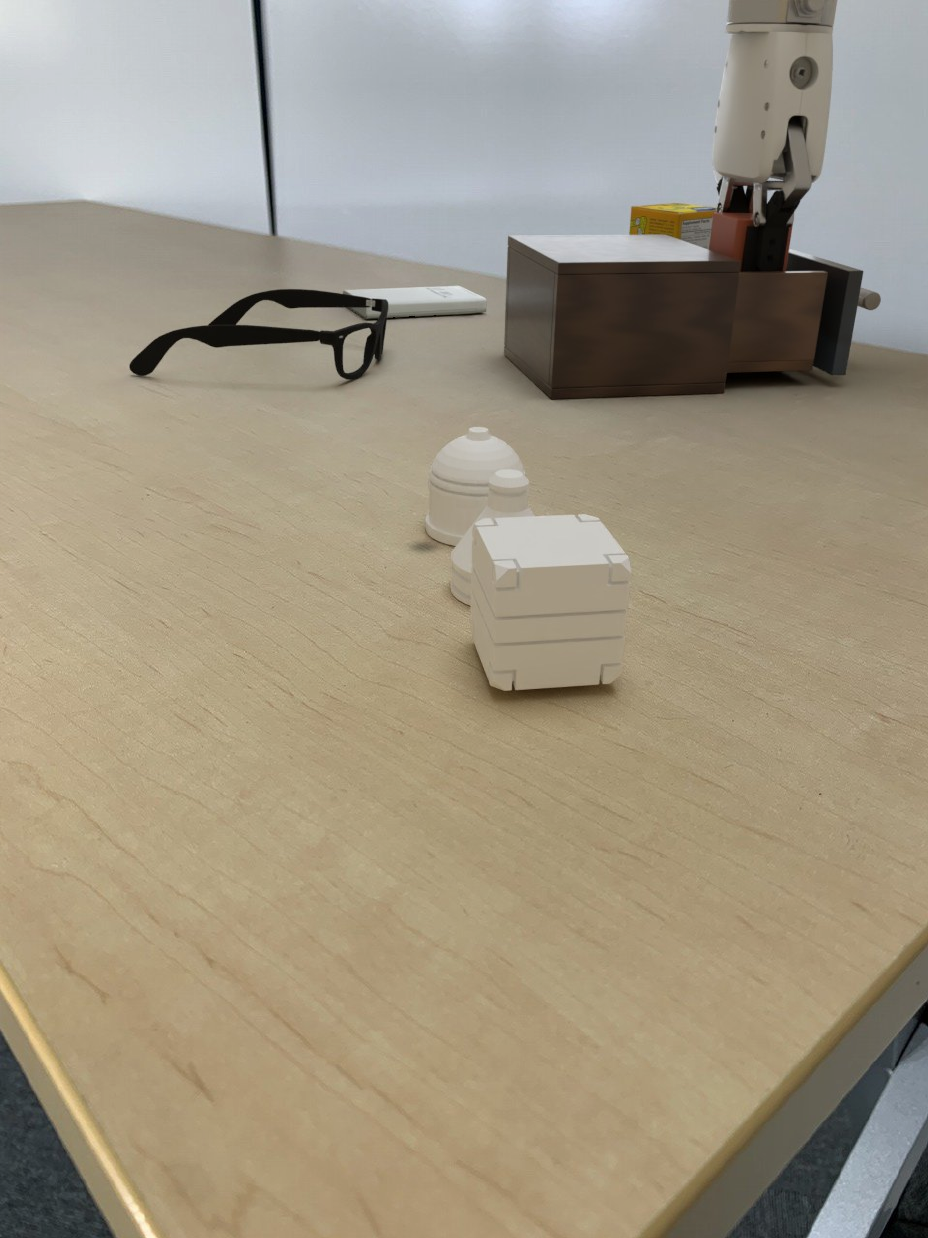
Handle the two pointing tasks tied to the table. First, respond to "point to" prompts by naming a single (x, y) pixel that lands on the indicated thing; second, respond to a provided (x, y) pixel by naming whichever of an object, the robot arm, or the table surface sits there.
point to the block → (734, 235)
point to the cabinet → (619, 314)
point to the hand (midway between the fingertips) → (745, 272)
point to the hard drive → (422, 301)
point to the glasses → (276, 329)
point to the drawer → (797, 316)
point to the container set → (527, 572)
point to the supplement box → (674, 222)
